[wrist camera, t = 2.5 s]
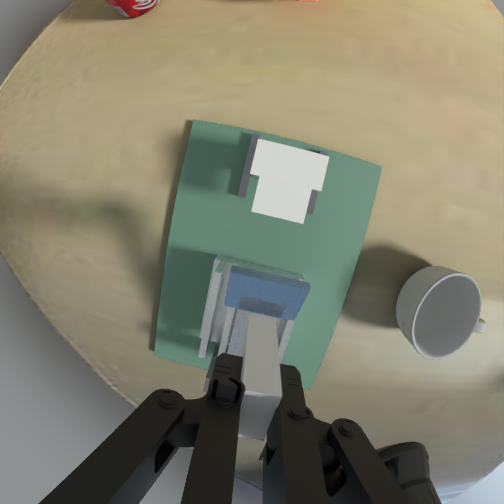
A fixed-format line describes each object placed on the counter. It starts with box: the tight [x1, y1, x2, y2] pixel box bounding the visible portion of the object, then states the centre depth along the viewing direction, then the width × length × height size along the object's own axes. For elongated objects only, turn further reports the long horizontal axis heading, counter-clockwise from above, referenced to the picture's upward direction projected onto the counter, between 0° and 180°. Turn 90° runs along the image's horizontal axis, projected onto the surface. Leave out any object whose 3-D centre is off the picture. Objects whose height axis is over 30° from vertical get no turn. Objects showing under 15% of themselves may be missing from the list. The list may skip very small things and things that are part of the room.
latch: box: [250, 139, 329, 224], centre depth 28 cm, size 6×6×8 cm
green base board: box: [154, 120, 382, 389], centre depth 35 cm, size 30×22×1 cm
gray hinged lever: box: [224, 265, 310, 356], centre depth 25 cm, size 19×5×1 cm, turn 167°
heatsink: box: [198, 133, 328, 392], centre depth 31 cm, size 27×10×9 cm, turn 167°
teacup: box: [396, 266, 486, 360], centre depth 32 cm, size 14×11×8 cm
